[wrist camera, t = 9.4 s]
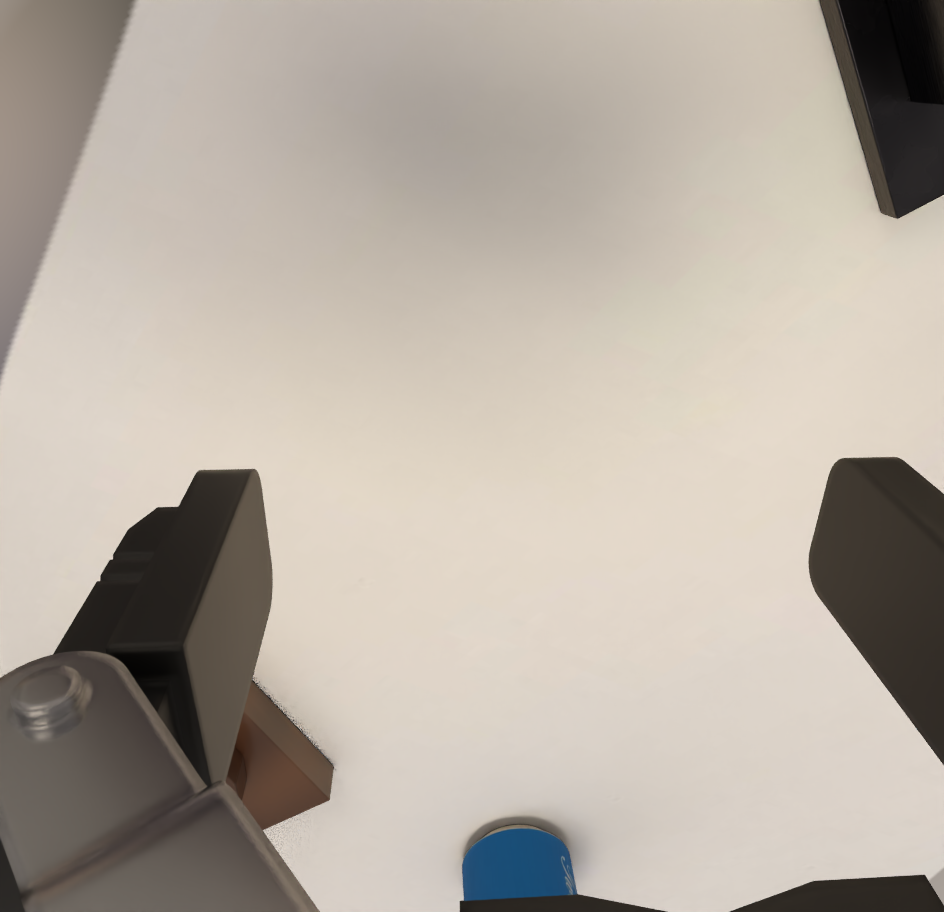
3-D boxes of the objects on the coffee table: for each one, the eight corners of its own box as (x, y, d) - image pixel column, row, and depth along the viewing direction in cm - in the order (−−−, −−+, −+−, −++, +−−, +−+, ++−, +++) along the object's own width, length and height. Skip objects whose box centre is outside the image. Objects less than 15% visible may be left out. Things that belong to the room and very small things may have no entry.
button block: (36, 702, 39) (-2, 766, 36) (195, 619, 38) (172, 678, 34) (187, 833, 44) (167, 901, 41) (334, 766, 43) (326, 830, 39)
